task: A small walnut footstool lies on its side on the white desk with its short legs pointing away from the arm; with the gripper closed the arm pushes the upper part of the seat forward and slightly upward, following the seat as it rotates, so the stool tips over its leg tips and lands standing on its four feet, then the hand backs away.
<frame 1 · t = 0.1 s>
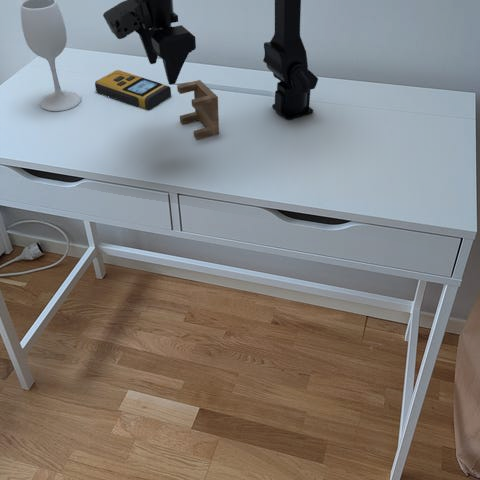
hand: (162, 73, 104), 15 cm above the table, tool pointing down, fingers open, 9 cm apart
wineglass: (60, 102, 127), on the table
footstool: (207, 125, 119), on the table
electronic device: (133, 96, 130), on the table
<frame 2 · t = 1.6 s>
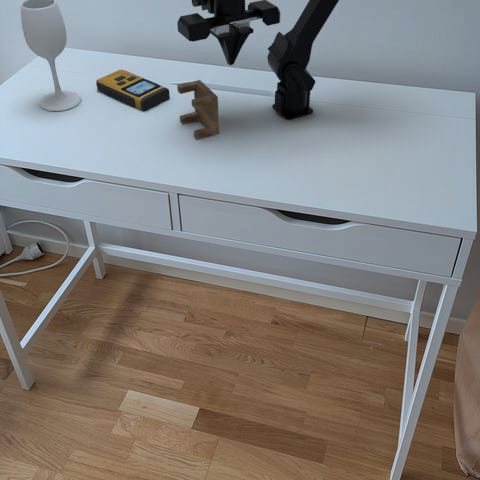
hand: (230, 64, 113), 12 cm above the table, tool pointing down, fingers closed
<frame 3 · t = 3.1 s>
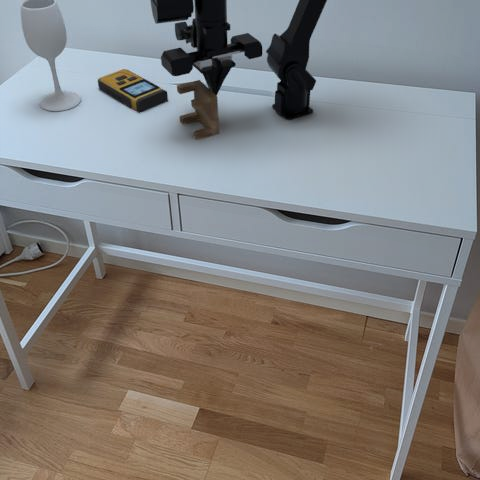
hand: (213, 95, 116), 6 cm above the table, tool pointing down, fingers closed
footstool: (207, 125, 119), on the table, touching gripper
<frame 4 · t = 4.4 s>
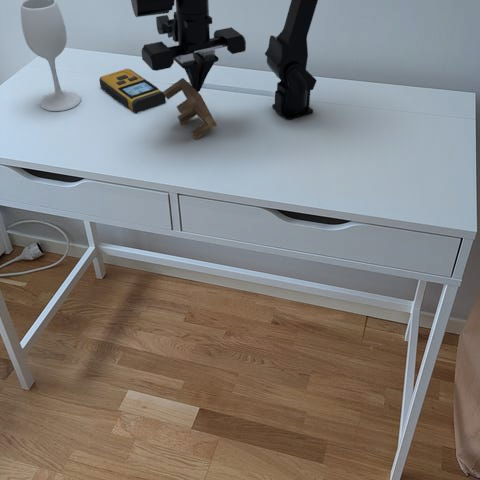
hand: (196, 91, 113), 8 cm above the table, tool pointing down, fingers closed
footstool: (205, 118, 118), point 2 cm above the table, tilted 23°, touching gripper
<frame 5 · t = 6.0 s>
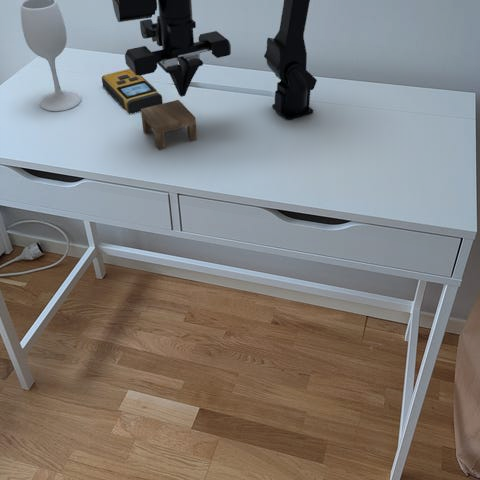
hand: (181, 95, 112), 8 cm above the table, tool pointing down, fingers closed
footstool: (186, 111, 115), point 4 cm above the table, tilted 90°
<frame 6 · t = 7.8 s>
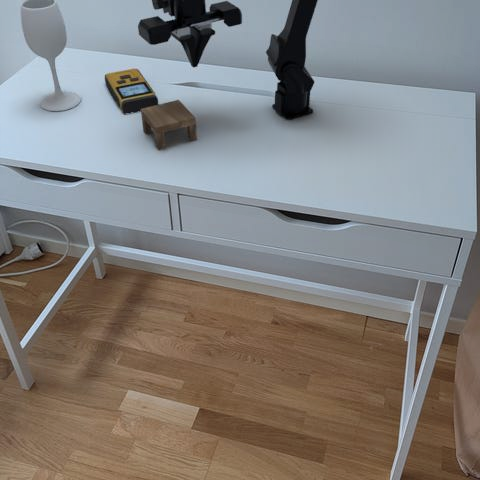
hand: (194, 66, 113), 12 cm above the table, tool pointing down, fingers closed
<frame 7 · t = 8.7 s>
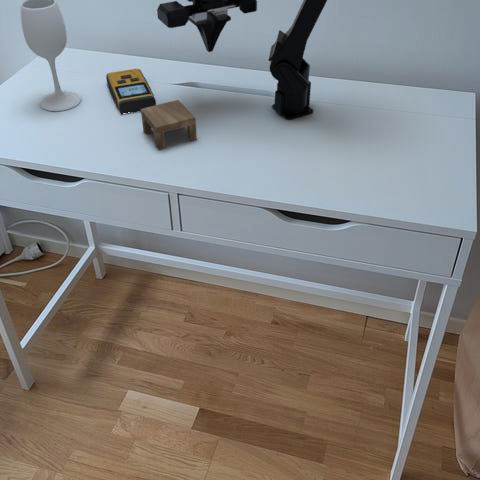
hand: (209, 51, 118), 12 cm above the table, tool pointing down, fingers closed
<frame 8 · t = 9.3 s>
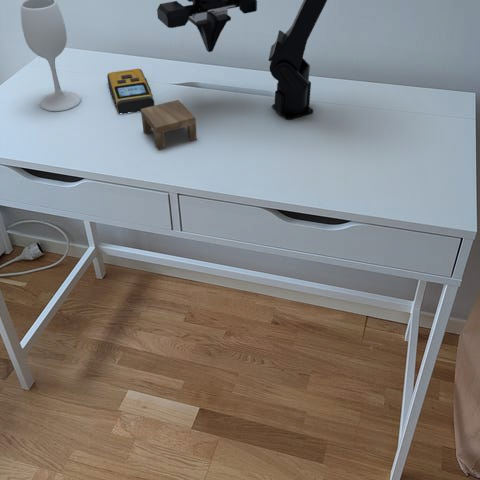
hand: (209, 51, 118), 12 cm above the table, tool pointing down, fingers closed
at the end: footstool inside the target area (1.3 cm from its centre), point 4.2 cm above the table; footstool tilted 90°; the gripper is holding nothing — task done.
